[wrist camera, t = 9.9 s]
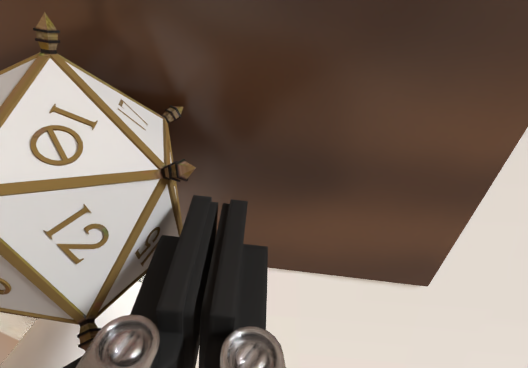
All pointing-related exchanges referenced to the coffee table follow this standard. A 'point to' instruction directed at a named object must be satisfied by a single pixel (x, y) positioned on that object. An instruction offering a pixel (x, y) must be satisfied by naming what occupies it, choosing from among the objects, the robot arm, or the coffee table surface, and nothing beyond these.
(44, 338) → the foam cup
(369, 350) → the coffee table surface
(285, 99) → the plate
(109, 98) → the game die
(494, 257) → the coffee table surface
